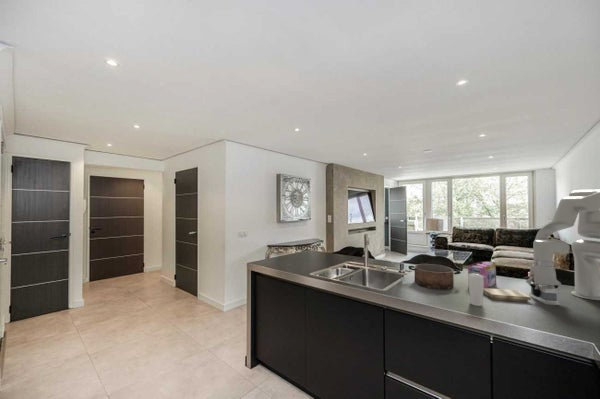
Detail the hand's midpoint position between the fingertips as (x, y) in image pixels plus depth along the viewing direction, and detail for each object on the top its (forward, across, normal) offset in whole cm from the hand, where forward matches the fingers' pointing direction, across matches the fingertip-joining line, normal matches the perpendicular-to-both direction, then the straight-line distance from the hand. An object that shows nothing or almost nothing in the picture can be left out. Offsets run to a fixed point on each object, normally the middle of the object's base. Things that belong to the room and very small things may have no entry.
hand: (543, 296), depth 137 cm
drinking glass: (+2, +38, +14) cm, 41 cm away
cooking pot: (+3, +50, -17) cm, 53 cm away
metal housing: (+2, 0, 0) cm, 2 cm away
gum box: (+2, +20, -22) cm, 30 cm away
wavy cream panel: (+2, +18, 0) cm, 18 cm away
